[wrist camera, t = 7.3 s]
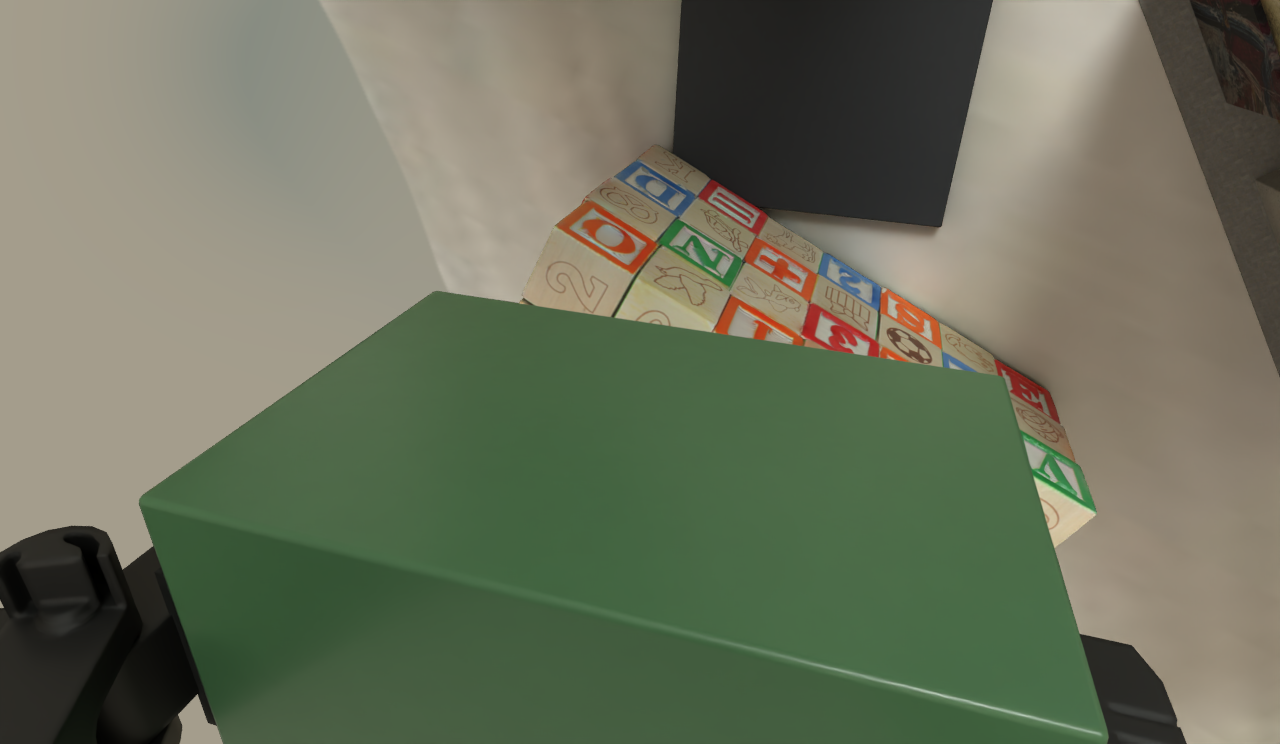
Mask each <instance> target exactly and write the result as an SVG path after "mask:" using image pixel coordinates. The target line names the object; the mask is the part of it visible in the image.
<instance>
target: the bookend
mask: <svg viewBox="0 0 1280 744" xmlns="http://www.w3.org/2000/svg"><path fill="white" fill-rule="evenodd" d="M1139 2H1140V5H1141V8H1142V10H1143V13H1144V16H1145V18H1146V21H1147V24H1148V26H1149V29H1150V32H1151V34H1152V37H1153V40H1154V42H1155V45H1156V48H1157V50H1158V53H1159V56H1160V58H1161V61H1162V64H1163V66H1164V69H1165V72H1166V74H1167V77H1168V80H1169V82H1170V85H1171V88H1172V90H1173V93H1174V96H1175V98H1176V101H1177V104H1178V106H1179V109H1180V112H1181V114H1182V117H1183V120H1184V122H1185V125H1186V128H1187V130H1188V133H1189V136H1190V138H1191V141H1192V144H1193V146H1194V149H1195V152H1196V154H1197V157H1198V160H1199V162H1200V165H1201V168H1202V170H1203V173H1204V176H1205V178H1206V181H1207V184H1208V186H1209V189H1210V192H1211V194H1212V197H1213V200H1214V202H1215V205H1216V208H1217V211H1218V213H1219V216H1220V219H1221V221H1222V224H1223V227H1224V229H1225V232H1226V235H1227V237H1228V240H1229V243H1230V245H1231V248H1232V251H1233V253H1234V256H1235V259H1236V261H1237V264H1238V267H1239V269H1240V272H1241V275H1242V277H1243V280H1244V283H1245V285H1246V288H1247V291H1248V293H1249V296H1250V299H1251V301H1252V304H1253V307H1254V309H1255V312H1256V315H1257V317H1258V320H1259V323H1260V325H1261V328H1262V331H1263V333H1264V336H1265V339H1266V341H1267V344H1268V347H1269V349H1270V352H1271V355H1272V357H1273V360H1274V363H1275V365H1276V368H1277V371H1278V373H1279V376H1280V0H1139Z"/></svg>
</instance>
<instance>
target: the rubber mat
mask: <svg viewBox="0 0 1280 744" xmlns="http://www.w3.org/2000/svg"><path fill="white" fill-rule="evenodd" d="M992 2H993V0H682V5H681V22H680V39H679V56H678V74H677V91H676V108H675V125H674V142H673V154H674V155H675V156H677V157H679V158H680V159H682V160H683V161H685V162H686V163H688V164H690V165H691V166H693V167H694V168H696V169H698V170H699V171H701V172H702V173H704V174H705V175H707V176H708V177H709V178H710V179H711V180H714V181H716V182H717V183H719V184H721V185H722V186H724V187H725V188H727V189H728V190H730V191H731V192H733V193H735V194H736V195H738V196H739V197H741V198H743V199H744V200H746V201H747V202H749V203H751V204H752V205H754V206H755V207H763V208H772V209H781V210H790V211H799V212H808V213H817V214H826V215H835V216H844V217H853V218H862V219H870V220H879V221H888V222H897V223H906V224H915V225H924V226H933V227H941V226H942V221H943V217H944V213H945V208H946V204H947V200H948V195H949V191H950V186H951V182H952V178H953V173H954V169H955V164H956V160H957V156H958V151H959V147H960V143H961V138H962V134H963V129H964V125H965V121H966V116H967V112H968V107H969V103H970V99H971V94H972V90H973V86H974V81H975V77H976V72H977V68H978V64H979V59H980V55H981V50H982V46H983V42H984V37H985V33H986V28H987V24H988V20H989V15H990V11H991V7H992Z"/></svg>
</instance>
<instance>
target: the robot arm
mask: <svg viewBox="0 0 1280 744" xmlns="http://www.w3.org/2000/svg"><path fill="white" fill-rule="evenodd" d="M0 600H1V602H2V604H3V606H4V608H0V744H179V743H180V739H181V732H182V724H181V721H180V719H179V716H178V714H179V713H180V712H181V711H182V710H183V709H184V708H185V707H186V705H187V704H188V703H189V702H190V701H191V700H192V699H193V698H194V697H195V696H196V695H197V694H198V696H199V699H200V702H201V704H202V707H203V710H204V713H205V716H206V718H207V721H208V723H210V724H213V725H216V722H215V719H214V716H213V713H212V711H211V708H210V705H209V702H208V699H207V696H206V694H205V691H204V688H203V685H202V682H201V679H200V676H199V674H198V671H197V668H196V665H195V662H194V659H193V657H192V654H191V651H190V648H189V645H188V642H187V639H186V637H185V634H184V631H183V628H182V625H181V622H180V620H179V617H178V614H177V611H176V608H175V605H174V602H173V600H172V597H171V594H170V591H169V588H168V585H167V583H166V580H165V577H164V574H163V571H162V568H161V566H160V563H159V560H158V557H157V554H156V551H155V548H154V546H153V547H151V548H150V549H149V550H148V551H146V552H145V553H144V554H142V555H141V556H140V557H139V558H137V559H136V560H135V561H133V562H132V563H131V564H130V565H128V566H127V567H126V568H124V569H123V570H122V568H121V565H120V562H119V560H118V557H117V554H116V552H115V549H114V547H113V544H112V542H111V540H110V538H109V536H108V534H107V532H104V531H102V530H100V529H97V528H95V527H92V526H69V527H63V528H58V529H52V530H48V531H45V532H42V533H39V534H37V535H34V536H31V537H28V538H26V539H23V540H21V541H20V542H18V543H16V544H14V545H12V546H11V547H9V548H7V549H5V550H4V551H2V552H0ZM1080 638H1081V641H1082V645H1083V648H1084V651H1085V655H1086V658H1087V662H1088V665H1089V668H1090V672H1091V675H1092V679H1093V682H1094V686H1095V689H1096V692H1097V696H1098V699H1099V703H1100V706H1101V710H1102V713H1103V716H1104V720H1105V723H1106V727H1107V730H1108V735H1109V738H1108V742H1107V744H1187V743H1186V741H1185V738H1184V736H1183V733H1182V731H1181V728H1180V727H1177V718H1176V715H1175V713H1174V710H1173V708H1172V705H1171V702H1170V700H1169V697H1168V695H1167V692H1166V690H1165V687H1164V684H1163V682H1162V681H1161V679H1160V678H1159V677H1158V676H1157V675H1156V674H1155V672H1154V671H1153V670H1152V669H1151V668H1150V666H1149V665H1148V664H1147V663H1146V662H1145V661H1144V659H1143V658H1142V657H1141V656H1140V655H1139V653H1138V652H1137V651H1136V650H1135V649H1134V647H1133V646H1132V645H1128V644H1123V643H1119V642H1114V641H1110V640H1105V639H1101V638H1096V637H1091V636H1087V635H1082V634H1080ZM216 726H217V725H216Z"/></svg>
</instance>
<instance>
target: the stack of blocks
mask: <svg viewBox="0 0 1280 744" xmlns="http://www.w3.org/2000/svg"><path fill="white" fill-rule="evenodd" d="M522 296H523V299H522V300H521V301H520V302H519V303H521V304H527V305H534V306H540V307H547V308H554V309H560V310H567V311H574V312H580V313H587V314H594V315H600V316H607V317H613V318H620V319H627V320H633V321H640V322H647V323H653V324H660V325H667V326H673V327H680V328H686V329H693V330H700V331H706V332H713V333H720V334H726V335H733V336H739V337H746V338H753V339H759V340H766V341H773V342H779V343H786V344H793V345H799V346H806V347H812V348H819V349H826V350H832V351H839V352H846V353H852V354H859V355H866V356H872V357H879V358H885V359H892V360H899V361H905V362H912V363H919V364H925V365H932V366H939V367H945V368H952V369H958V370H965V371H972V372H978V373H985V374H992V375H998V376H1001V377H1003V378H1005V381H1006V384H1007V388H1008V391H1009V395H1010V398H1011V402H1012V405H1013V408H1014V412H1015V415H1016V419H1017V422H1018V426H1019V429H1020V432H1021V436H1022V439H1023V443H1024V446H1025V449H1026V453H1027V456H1028V460H1029V463H1030V467H1031V470H1032V473H1033V477H1034V480H1035V484H1036V487H1037V491H1038V494H1039V497H1040V501H1041V504H1042V508H1043V511H1044V514H1045V518H1046V521H1047V525H1048V528H1049V532H1050V535H1051V538H1052V542H1053V545H1054V548H1056V547H1057V546H1058V545H1060V544H1061V543H1062V542H1063V541H1065V540H1066V539H1067V538H1068V537H1069V536H1070V535H1072V534H1073V533H1074V532H1076V531H1077V530H1078V529H1080V528H1081V527H1082V526H1083V525H1084V524H1086V523H1087V522H1088V521H1090V520H1091V519H1092V518H1093V517H1094V516H1096V515H1097V511H1096V508H1095V505H1094V502H1093V499H1092V496H1091V494H1090V491H1089V488H1088V485H1087V482H1086V480H1085V477H1084V474H1083V472H1082V469H1081V468H1080V466H1079V465H1078V464H1076V462H1075V459H1074V455H1073V452H1072V450H1071V447H1070V445H1069V441H1068V438H1067V436H1066V433H1065V429H1064V427H1063V426H1062V425H1060V424H1061V423H1060V421H1059V417H1058V414H1057V410H1056V407H1055V405H1054V402H1053V399H1052V397H1051V395H1050V392H1049V391H1047V390H1046V389H1044V388H1043V387H1041V386H1039V385H1037V384H1036V383H1034V382H1032V381H1031V380H1029V379H1027V378H1026V377H1024V376H1022V375H1021V374H1019V373H1018V372H1016V371H1014V370H1012V369H1011V368H1009V367H1008V366H1006V365H1004V364H1002V363H1001V362H1000V361H998V360H995V359H993V356H992V355H991V354H990V353H989V352H987V351H985V350H984V349H982V348H981V347H979V346H977V345H976V344H974V343H973V342H971V341H969V340H968V339H966V338H965V337H963V336H961V335H960V334H958V333H956V332H955V331H953V330H952V329H950V328H948V327H947V326H945V325H943V324H941V323H939V322H937V321H936V320H935V319H934V318H933V317H931V316H930V315H928V314H927V313H925V312H923V311H922V310H920V309H919V308H917V307H915V306H914V305H912V304H911V303H909V302H908V301H906V300H904V299H903V298H901V297H900V296H898V295H896V294H895V293H893V292H891V291H890V290H889V289H887V288H885V287H880V286H878V285H877V284H876V283H874V282H873V281H871V280H869V279H868V278H866V277H864V276H863V275H861V274H860V273H858V272H856V271H855V270H853V269H852V268H850V267H848V266H847V265H845V264H844V263H842V262H841V261H839V260H837V259H836V258H834V257H833V256H831V255H830V254H827V253H824V252H823V251H821V250H820V249H819V248H817V247H816V246H814V245H813V244H811V243H809V242H808V241H806V240H805V239H803V238H801V237H800V236H798V235H797V234H795V233H793V232H792V231H790V230H788V229H787V228H785V227H784V226H782V225H780V224H779V223H777V222H776V221H774V220H772V219H770V218H769V217H768V216H767V214H766V213H764V212H763V211H761V210H760V209H758V208H757V207H755V206H754V205H752V204H751V203H749V202H747V201H746V200H744V199H743V198H741V197H739V196H738V195H736V194H735V193H733V192H731V191H730V190H728V189H727V188H725V187H724V186H722V185H721V184H719V183H717V182H716V181H714V180H711V179H710V178H709V177H708V176H707V175H705V174H704V173H702V172H701V171H699V170H698V169H696V168H694V167H693V166H691V165H690V164H688V163H686V162H685V161H683V160H682V159H680V158H679V157H677V156H675V155H674V154H672V153H671V152H669V151H667V150H666V149H664V148H662V147H661V146H659V145H654V146H652V147H651V148H650V149H649V150H648V151H646V152H645V153H643V154H642V155H641V156H640V157H639V158H638V159H637V160H636V161H635V162H633V163H632V164H630V165H629V166H628V167H627V168H625V169H624V170H623V171H621V172H620V173H618V174H617V175H615V176H614V177H613V178H609V179H608V180H607V181H606V182H603V183H602V184H601V185H600V186H599V187H597V188H596V189H595V190H593V191H592V192H591V193H590V194H589V195H587V196H586V197H585V198H584V200H583V202H582V204H581V206H579V207H578V208H577V209H575V210H574V211H573V212H572V213H570V214H569V215H568V216H566V217H565V218H564V219H563V220H561V221H560V222H559V223H557V224H556V225H555V226H554V228H553V230H552V232H551V234H550V236H549V239H548V241H547V243H546V245H545V247H544V249H543V251H542V253H541V255H540V258H539V260H538V262H537V264H536V266H535V268H534V270H533V272H532V274H531V276H530V278H529V280H528V282H527V284H526V286H525V288H524V291H523V293H522Z"/></svg>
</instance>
